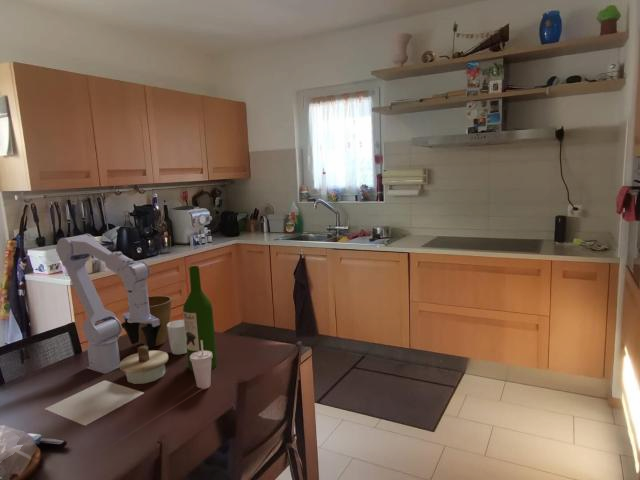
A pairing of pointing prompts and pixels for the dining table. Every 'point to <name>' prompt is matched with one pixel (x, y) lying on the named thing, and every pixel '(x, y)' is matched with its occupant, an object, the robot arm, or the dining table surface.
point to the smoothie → (202, 367)
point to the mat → (94, 402)
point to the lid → (143, 360)
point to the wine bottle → (198, 320)
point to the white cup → (177, 337)
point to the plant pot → (162, 311)
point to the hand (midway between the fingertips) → (143, 345)
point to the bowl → (146, 375)
